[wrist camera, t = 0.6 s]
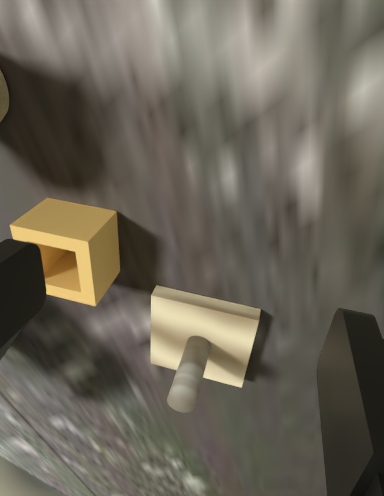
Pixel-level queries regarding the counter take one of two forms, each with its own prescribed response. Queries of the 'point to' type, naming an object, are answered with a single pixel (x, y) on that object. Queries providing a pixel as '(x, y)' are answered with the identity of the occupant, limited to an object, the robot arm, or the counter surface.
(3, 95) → the flower pot
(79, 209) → the ring
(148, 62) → the counter surface
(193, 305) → the post stand
